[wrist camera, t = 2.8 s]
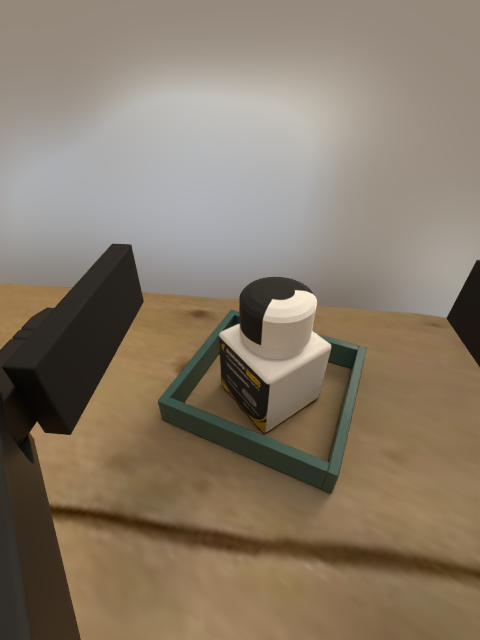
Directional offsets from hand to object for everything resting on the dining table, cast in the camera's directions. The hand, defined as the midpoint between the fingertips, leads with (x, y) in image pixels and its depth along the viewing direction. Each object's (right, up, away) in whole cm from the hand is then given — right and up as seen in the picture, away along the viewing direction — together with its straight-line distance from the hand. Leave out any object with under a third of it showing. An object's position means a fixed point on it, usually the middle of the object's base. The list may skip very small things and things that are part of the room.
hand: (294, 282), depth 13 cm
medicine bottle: (+1, -9, +19) cm, 21 cm away
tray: (+1, -9, +19) cm, 21 cm away
